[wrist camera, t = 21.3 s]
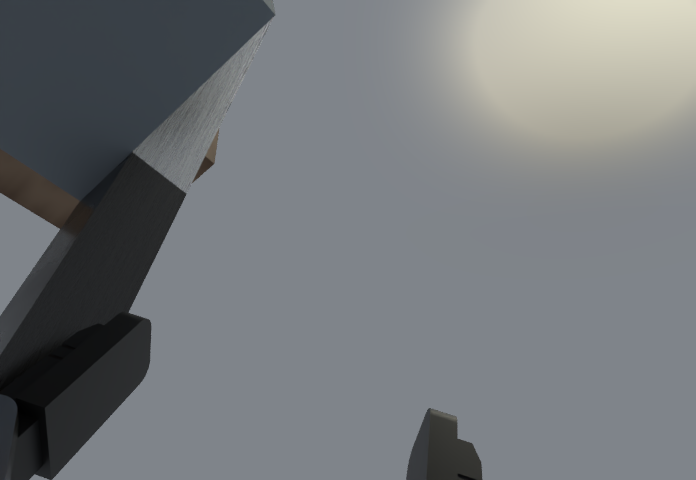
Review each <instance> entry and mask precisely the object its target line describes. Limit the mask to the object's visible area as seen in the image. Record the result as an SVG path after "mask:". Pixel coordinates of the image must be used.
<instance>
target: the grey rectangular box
mask: <svg viewBox="0 0 696 480" xmlns="http://www.w3.org/2000/svg"><path fill="white" fill-rule="evenodd" d="M274 16H275V11H274V4H273V0H0V149H1V150H3V151H4V152H6V153H8V154H9V155H11V156H12V157H14V158H15V159H17V160H18V161H20V162H21V163H23V164H24V165H26V166H27V167H29V168H30V169H32V170H33V171H35V172H36V173H38V174H39V175H41V176H43V177H44V178H46V179H47V180H49V181H50V182H52V183H53V184H55V185H56V186H58V187H59V188H61V189H62V190H64V191H65V192H67V193H68V194H70V195H71V196H73V197H74V198H76V199H78V200H79V201H81V200H82V199H83V198H84V197H85V196H86V195H87V194H88V193H89V192H91V191H92V190H93V189H94V188H95V187H96V186H97V185H98V184H99V183H100V182H101V181H102V180H103V179H104V178H105V177H106V176H107V175H108V174H109V173H110V172H111V171H113V170H114V169H115V168H116V167H117V166H118V165H119V164H120V163H121V162H122V161H123V160H124V159H125V158H126V157H127V156H128V155H129V154H130V153H131V152H132V151H133V150H135V149H136V148H137V147H138V146H139V145H140V144H141V143H142V142H143V141H144V140H145V139H146V138H147V137H148V136H149V135H150V134H151V133H152V132H153V131H154V130H155V129H157V128H158V127H159V126H160V125H161V124H162V123H163V122H164V121H165V120H166V119H167V118H168V117H169V116H170V115H171V114H172V113H173V112H174V111H175V110H176V109H177V108H179V107H180V106H181V105H182V104H183V103H184V102H185V101H186V100H187V99H188V98H189V97H190V96H191V95H192V94H193V93H194V92H195V91H196V90H197V89H198V88H200V87H201V86H202V85H203V84H204V83H205V82H206V81H207V80H208V79H209V78H210V77H211V76H212V75H213V74H214V73H215V72H216V71H217V70H218V69H219V68H220V67H222V66H223V65H224V64H225V63H226V62H227V61H228V60H229V59H230V58H231V57H232V56H233V55H234V54H235V53H236V52H237V51H238V50H239V49H240V48H241V47H242V46H244V45H245V44H246V43H247V42H248V41H249V40H250V39H251V38H252V37H253V36H254V35H255V34H256V33H257V32H258V31H259V30H260V29H261V28H262V27H263V26H264V25H266V24H267V23H268V22H269V21H270V20H271V19H272V18H273V17H274Z"/></svg>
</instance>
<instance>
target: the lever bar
mask: <svg viewBox="0 0 696 480" xmlns="http://www.w3.org/2000/svg"><path fill="white" fill-rule="evenodd" d="M272 19H273V18H272ZM272 19H271V20H270V21H269V22H268V23H267V24H266V25H264V26H263V27H262V28H261V29H260V30H259V31H258V32H257V33H256V34H255V35H254V36H253V37H252V38H251V39H250V40H249V41H248V42H247V43H246V44H245V45H244V46H242V47H241V48H240V49H239V50H238V51H237V52H236V53H235V54H234V55H233V56H232V57H231V58H230V59H229V60H228V61H227V62H226V63H225V64H224V65H223V66H222V67H220V68H219V69H218V70H217V71H216V72H215V73H214V74H213V75H212V76H211V77H210V78H209V79H208V80H207V81H206V82H205V83H204V84H203V85H202V86H201V87H200V88H198V89H197V90H196V91H195V92H194V93H193V94H192V95H191V96H190V97H189V98H188V99H187V100H186V101H185V102H184V103H183V104H182V105H181V106H180V107H179V108H177V109H176V110H175V111H174V112H173V113H172V114H171V115H170V116H169V117H168V118H167V119H166V120H165V121H164V122H163V123H162V124H161V125H160V126H159V127H158V128H157V129H155V130H154V131H153V132H152V133H151V134H150V135H149V136H148V137H147V138H146V139H145V140H144V141H143V142H142V143H141V144H140V145H139V146H138V147H137V148H136V149H135V150H133V151H132V152H131V153H130V154H129V155H128V156H127V157H126V158H125V159H124V160H123V161H122V162H121V163H120V164H119V165H118V166H117V167H116V168H115V169H114V170H113V171H111V172H110V173H109V174H108V175H107V176H106V177H105V178H104V179H103V180H102V181H101V182H100V183H99V184H98V185H97V186H96V187H95V188H94V189H93V190H92V191H91V192H89V193H88V194H87V195H86V196H85V197H84V198H83V199H82V200H81V201H80V202H79V203H78V205H77V206H76V207H75V209H74V210H73V212H72V213H71V215H70V216H69V218H68V219H67V220H66V222H65V223H64V225H63V226H62V228H61V229H60V231H59V232H58V233H57V235H56V236H55V238H54V239H53V241H52V242H51V244H50V245H49V246H48V248H47V249H46V251H45V252H44V254H43V255H42V257H41V258H40V259H39V261H38V262H37V264H36V265H35V267H34V268H33V270H32V271H31V273H30V274H29V275H28V277H27V278H26V280H25V281H24V283H23V284H22V285H21V287H20V288H19V290H18V291H17V293H16V294H15V296H14V297H13V298H12V300H11V301H10V303H9V304H8V306H7V307H6V309H5V310H4V311H3V313H2V314H1V316H0V391H1V390H3V389H4V388H5V387H6V386H8V385H9V384H10V383H12V382H13V381H14V380H16V379H17V378H18V377H19V376H21V375H22V374H23V373H25V372H26V371H27V370H29V369H30V368H31V367H32V366H34V365H35V364H36V363H38V362H39V361H40V360H41V359H43V358H44V357H45V356H49V353H51V352H52V351H53V350H54V349H56V348H57V347H58V346H62V343H64V342H65V341H66V340H67V339H69V338H70V337H71V336H73V335H74V334H75V333H76V332H78V331H80V330H83V329H85V328H88V327H90V326H93V325H95V324H97V323H99V324H102V325H105V324H106V323H108V322H109V321H110V320H111V319H113V318H114V317H115V316H116V315H117V314H119V313H121V312H127V313H128V312H129V310H130V308H131V306H132V304H133V302H134V300H135V298H136V296H137V294H138V292H139V290H140V287H141V285H142V283H143V281H144V279H145V277H146V275H147V273H148V271H149V269H150V267H151V265H152V263H153V261H154V259H155V257H156V255H157V253H158V251H159V249H160V247H161V245H162V243H163V241H164V239H165V237H166V235H167V233H168V231H169V228H170V227H171V225H172V223H173V220H174V218H175V216H176V214H177V212H178V210H179V208H180V206H181V204H182V202H183V200H184V198H185V196H186V194H187V192H188V190H189V188H190V186H191V184H192V182H193V180H194V178H195V176H196V174H197V172H198V170H199V168H200V166H201V164H202V162H203V160H204V158H205V155H206V153H207V151H208V149H209V147H210V145H211V143H212V141H213V139H214V137H215V135H216V133H217V131H218V129H219V127H220V125H221V123H222V121H223V119H224V117H225V115H226V113H227V111H228V109H229V107H230V105H231V103H232V101H233V99H234V97H235V94H236V92H237V90H238V88H239V86H240V84H241V82H242V80H243V78H244V76H245V74H246V72H247V70H248V68H249V66H250V64H251V62H252V60H253V58H254V56H255V54H256V52H257V50H258V48H259V46H260V44H261V42H262V40H263V38H264V35H265V33H266V32H267V29H268V27H269V25H270V23H271V21H272Z"/></svg>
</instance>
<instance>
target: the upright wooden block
mask: <svg viewBox="0 0 696 480" xmlns="http://www.w3.org/2000/svg"><path fill="white" fill-rule="evenodd" d="M218 133H219V129H218V131H217V133H216V135H215V137H214V139H213V141H212V143H211V145H210V147H209V149H208V151H207V153H206V155H205V158H204V160H203V162H202V164H201V166H200V168H199V170H198V172H197V174H196V176H195V178H194V180H193V182H194V181H195V180H196V179H197V178H199V177H200V176H201V175H202V174H203V173H204V172H205V171H206V170H208V169H209V168H210V167H211V166H212V165H213V164H214V162H215V155H216V148H217V140H218ZM193 182H192V183H193ZM0 193H2V194H4V195H5V196H7V197H8V198H10V199H12V200H13V201H15V202H17V203H18V204H20V205H22V206H23V207H25V208H27V209H28V210H30V211H31V212H33V213H35V214H36V215H38V216H40V217H41V218H43V219H45V220H46V221H48V222H50V223H51V224H53V225H55V226H56V227H58V228H60V229H61V228H62V226H63V225H64V223H65V222H66V220H67V219H68V218H69V216H70V215H71V213H72V212H73V210H74V209H75V207H76V206H77V205H78V203H79V202H80V201H79V200H78V199H76V198H74V197H73V196H71V195H70V194H68V193H67V192H65V191H64V190H62V189H61V188H59V187H58V186H56V185H55V184H53V183H52V182H50V181H49V180H47V179H46V178H44V177H43V176H41V175H39V174H38V173H36V172H35V171H33V170H32V169H30V168H29V167H27V166H26V165H24V164H23V163H21V162H20V161H18V160H17V159H15V158H14V157H12V156H11V155H9V154H8V153H6V152H4V151H3V150H1V149H0Z"/></svg>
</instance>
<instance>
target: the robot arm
mask: <svg viewBox="0 0 696 480" xmlns="http://www.w3.org/2000/svg"><path fill="white" fill-rule="evenodd" d="M150 343H151V322H150V320H149V319H145V318H143V317H139V316H136V315H133V314H130V313H127V312H121V313H119V314H117V315H116V316H115V317H114V318H113V319H111V320H110V321H109V322H108V323H106V324H105V325H102V324H99V323H97V324H95V325H93V326H90V327H88V328H85V329H83V330H80V331H78V332H76V333H75V334H74V335H73V336H71V337H70V338H69V339H67V340H66V341H65V342H64V343H62V346H58V347H57V348H56V349H54V350H53V351H52V352H51V353H49V356H45V357H44V358H43V359H41V360H40V361H39V362H38V363H36V364H35V365H34V366H32V367H31V368H30V369H29V370H27V371H26V372H25V373H23V374H22V375H21V376H19V377H18V378H17V379H16V380H14V381H13V382H12V383H10V384H9V385H8V386H6V387H5V388H4V389H3V390H1V391H0V480H29V479H30V478H31V477H32V476H33V475H34V474H36V475H39V476H42V477H44V478H47V479H50V480H52V479H53V478H54V477H55V476H56V475H57V474H58V472H59V471H60V470H61V469H62V468H63V467H64V466H65V465H66V464H67V463H68V462H69V460H70V459H71V458H72V457H73V456H74V455H75V454H76V453H77V452H78V451H79V449H80V448H81V447H82V446H83V445H84V444H85V443H86V442H87V441H88V440H89V439H90V438H91V436H92V435H93V434H94V433H95V432H96V431H97V430H98V429H99V428H100V427H101V426H102V425H103V423H104V422H105V421H106V420H107V419H108V418H109V417H110V415H112V413H113V412H114V411H115V410H116V409H117V408H118V407H119V406H120V405H121V404H122V403H123V402H124V401H125V399H126V398H127V397H128V396H129V395H130V394H131V393H132V392H133V391H134V390H135V389H136V387H137V386H138V385H139V384H140V383H141V382H142V380H143V379H144V377H145V375H146V373H147V370H148V368H149V363H150ZM481 468H482V467H481V461H480V459H479V457H478V455H477V453H476V451H475V448H474V446H473V444H472V443H469V442H466V441H463V440H460V439H457V417H456V416H453V415H449V414H446V413H443V412H440V411H437V410H434V409H431V408H429V409H428V410H427V412H426V415H425V417H424V420H423V422H422V425H421V428H420V431H419V433H418V436H417V438H416V441H415V443H414V446H413V449H412V452H411V456H410V459H409V465H408V470H407V478H406V479H407V480H482V469H481Z"/></svg>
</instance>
